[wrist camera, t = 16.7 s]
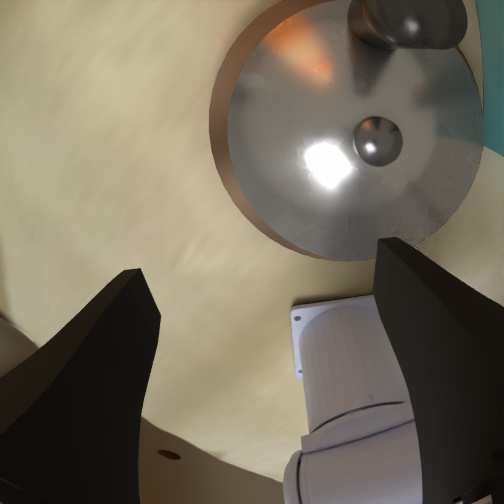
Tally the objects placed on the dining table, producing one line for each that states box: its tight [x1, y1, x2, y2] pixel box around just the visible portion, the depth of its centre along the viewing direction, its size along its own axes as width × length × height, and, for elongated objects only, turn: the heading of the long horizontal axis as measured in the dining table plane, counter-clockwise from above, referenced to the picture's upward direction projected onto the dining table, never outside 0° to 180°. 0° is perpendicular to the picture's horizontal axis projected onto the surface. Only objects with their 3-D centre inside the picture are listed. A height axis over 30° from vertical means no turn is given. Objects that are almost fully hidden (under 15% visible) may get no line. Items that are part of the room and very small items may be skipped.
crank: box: [228, 0, 484, 260], centre depth 12 cm, size 14×14×6 cm
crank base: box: [209, 0, 479, 261], centre depth 15 cm, size 16×16×1 cm
